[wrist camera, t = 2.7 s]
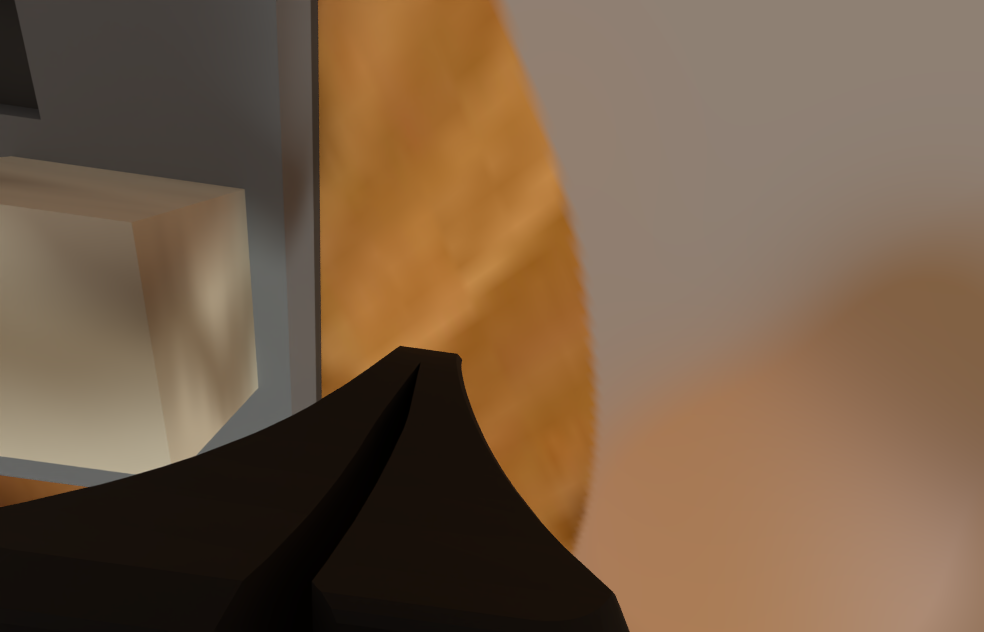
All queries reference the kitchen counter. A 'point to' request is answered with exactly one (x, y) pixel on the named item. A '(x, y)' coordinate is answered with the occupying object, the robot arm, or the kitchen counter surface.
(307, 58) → the board
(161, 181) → the beech block
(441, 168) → the kitchen counter surface
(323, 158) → the kitchen counter surface
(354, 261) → the kitchen counter surface
